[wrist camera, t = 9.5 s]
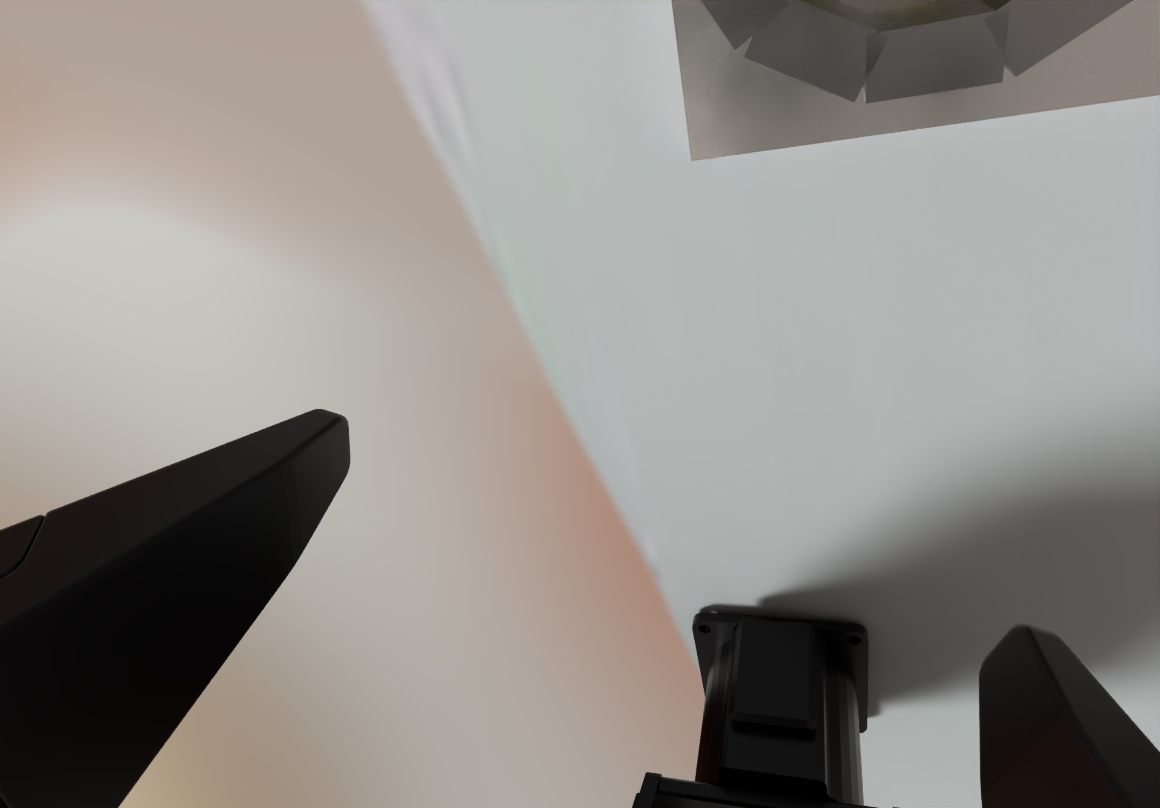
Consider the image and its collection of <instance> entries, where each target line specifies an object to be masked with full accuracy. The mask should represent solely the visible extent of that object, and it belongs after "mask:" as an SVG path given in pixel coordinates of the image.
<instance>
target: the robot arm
mask: <svg viewBox="0 0 1160 808" xmlns="http://www.w3.org/2000/svg"><path fill="white" fill-rule="evenodd" d="M349 467H350V443H349V426H348V421H347V419H346V418H345V417H344V416H342V415H340V414H336V413H333V412H330V411H327V410H323V409H315V410H312V411H309V412H307V413H304V414H301V415H299V416H296V417H294V418H291V419H288V420H286V421H283V422H280V423H278V424H275V425H273V426H270V427H267V428H265V429H262V430H260V431H258V432H254V433H252V434H249V435H247V436H244V437H241V438H239V439H236V440H234V441H231V442H228V443H226V444H224V445H221V446H218V447H216V448H213V449H210V450H208V451H205V452H203V453H200V454H197V455H195V456H192V457H190V458H187V459H185V460H182V461H179V462H176V463H174V464H171V465H169V466H166V467H163V468H161V469H158V470H156V471H153V472H150V473H148V474H145V475H143V476H140V477H137V478H135V479H132V480H130V481H127V482H124V483H122V484H119V485H117V486H114V487H112V488H109V489H106V490H104V491H101V492H99V493H96V494H94V495H91V496H88V497H85V498H83V499H80V500H78V501H75V502H72V503H70V504H67V505H64V506H62V507H59V508H57V509H54V510H51V511H49V512H48V513H47V514H46V516H43V515H38V516H35V517H33V518H30V519H28V520H25V521H22V522H20V523H17V524H15V525H12V526H9V527H7V528H4V529H1V530H0V808H118V807H119V806H120V804H121V803H122V802H123V800H124V799H125V797H126V796H127V795H128V794H129V792H130V791H131V789H132V788H133V786H134V785H135V784H136V783H137V781H138V780H139V779H140V777H141V775H142V774H143V773H144V772H145V770H146V769H147V767H148V766H149V765H150V763H151V762H152V761H153V759H154V757H156V755H157V754H158V752H159V751H160V749H161V748H162V747H163V746H164V744H165V743H166V741H167V740H168V739H169V737H170V736H171V735H172V733H173V732H174V731H175V729H176V728H177V726H178V725H179V724H180V722H181V721H182V720H183V718H184V717H185V716H186V714H187V712H188V711H189V710H190V709H191V707H192V706H193V705H194V703H195V702H196V700H197V699H198V698H199V696H200V695H201V694H202V692H203V691H204V689H205V688H206V687H207V685H208V684H209V683H210V681H211V679H212V678H213V677H214V676H215V674H216V673H217V672H218V670H219V669H220V668H221V666H222V665H223V663H224V662H225V661H226V659H227V658H228V656H229V655H230V654H231V653H232V651H233V650H234V648H235V647H236V646H237V644H238V643H239V642H240V640H241V639H242V637H243V636H244V635H245V633H246V632H247V631H248V629H249V627H251V625H252V624H253V622H254V621H255V620H256V618H257V617H258V616H259V614H260V613H261V611H262V610H263V609H264V607H265V606H266V605H267V603H268V602H269V600H270V599H271V597H272V596H273V595H274V594H275V592H276V591H277V589H278V588H279V587H280V585H281V584H282V583H283V581H284V580H285V579H286V577H287V576H288V574H289V573H290V571H291V570H292V569H293V567H294V566H295V564H296V562H297V561H298V559H299V557H300V556H301V554H302V552H303V551H304V549H305V547H306V546H307V544H308V542H309V540H310V539H311V537H312V535H313V533H314V531H315V530H316V528H317V526H318V525H319V523H320V521H321V519H322V518H323V516H324V514H325V512H326V511H327V509H328V507H329V505H330V504H331V502H332V500H333V498H334V497H335V495H336V493H337V491H338V490H339V488H340V486H341V484H342V483H343V481H344V479H345V477H346V475H347V473H348V470H349ZM692 629H693V635H694V640H695V645H696V650H697V656H698V661H699V666H700V672H701V677H702V682H703V688H704V693H705V705H704V713H703V721H702V729H701V736H700V744H699V752H698V760H697V768H696V776H695V782H694V781H686V780H679V779H673V778H666V777H662V775H661V774H657V773H649V772H646V774H645V778H644V781H643V784H642V787H641V790H640V793H637V794H636V797H635V800H634V803H633V806H632V808H876V807H869V806H864V800H863V783H862V767H861V750H860V734H859V733H863V732H864V731H866V729H867V696H868V632H867V629H866V628H865V627H864V626H862V625H860V624H856V623H847V622H832V621H818V620H804V619H789V618H775V617H761V616H746V615H732V614H717V613H698V614H696V615H695V616H694V620H693V626H692ZM979 722H980V782H981V800H982V808H1160V752H1159V751H1158V749H1157V748H1156V747H1155V746H1154V745H1153V744H1152V743H1151V741H1150V740H1149V739H1148V738H1147V737H1146V736H1145V734H1144V733H1143V732H1142V731H1141V730H1140V729H1139V728H1138V726H1137V725H1136V724H1135V723H1134V722H1133V721H1132V720H1131V718H1130V717H1129V716H1128V715H1127V714H1126V713H1125V712H1124V710H1123V709H1122V708H1121V707H1120V706H1119V705H1118V704H1117V702H1116V701H1115V700H1114V699H1113V698H1112V697H1111V696H1110V694H1109V693H1108V692H1107V691H1106V690H1105V689H1104V688H1103V686H1102V685H1101V684H1100V683H1099V682H1098V681H1097V680H1096V678H1095V677H1094V676H1093V675H1092V674H1091V673H1090V672H1089V670H1088V669H1087V668H1086V667H1085V666H1084V665H1083V664H1082V662H1081V661H1080V660H1079V659H1078V658H1077V657H1076V655H1075V654H1074V653H1073V652H1072V651H1071V650H1070V649H1069V647H1068V646H1067V645H1066V644H1065V643H1064V642H1063V641H1062V640H1061V639H1060V638H1059V637H1058V636H1057V635H1056V634H1054V633H1052V632H1050V631H1047V630H1044V629H1041V628H1037V627H1034V626H1031V625H1027V624H1017V625H1015V626H1013V627H1012V628H1011V629H1010V630H1009V631H1008V632H1007V633H1006V635H1005V636H1004V637H1003V638H1002V639H1001V640H1000V642H999V643H998V644H997V645H996V646H995V647H994V649H993V650H992V651H991V652H990V653H989V654H988V656H987V657H986V658H985V660H984V661H983V663H982V665H981V669H980V673H979ZM893 808H898V807H893Z"/></svg>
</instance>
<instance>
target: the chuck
mask: <svg viewBox="0 0 1160 808" xmlns="http://www.w3.org/2000/svg"><path fill="white" fill-rule="evenodd" d="M672 8H673V16H674V24H675V32H676V40H677V48H678V57H679V65H680V73H681V81H682V89H683V97H684V105H685V114H686V122H687V130H688V138H689V146H690V154H691V161H695V160H702V159H709V158H716V157H724V156H731V155H738V154H745V153H752V152H759V151H766V150H773V149H780V148H787V147H794V146H801V145H809V144H816V143H823V142H830V141H837V140H844V139H851V138H858V137H865V136H872V135H879V134H887V133H894V132H901V131H908V130H915V129H922V128H929V127H936V126H943V125H950V124H957V123H965V122H972V121H979V120H986V119H993V118H1000V117H1007V116H1014V115H1021V114H1028V113H1035V112H1043V111H1050V110H1057V109H1064V108H1071V107H1078V106H1085V105H1092V104H1099V103H1106V102H1113V101H1121V100H1128V99H1135V98H1142V97H1149V96H1156V95H1160V0H672Z"/></svg>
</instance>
